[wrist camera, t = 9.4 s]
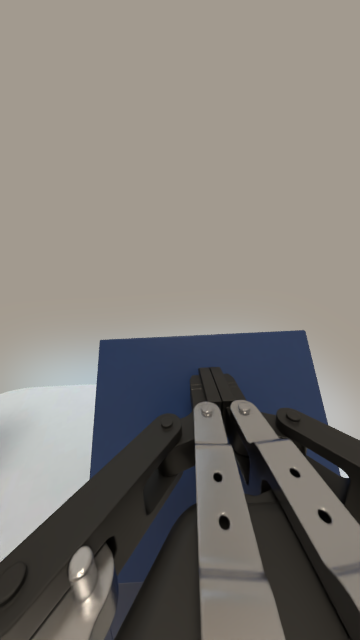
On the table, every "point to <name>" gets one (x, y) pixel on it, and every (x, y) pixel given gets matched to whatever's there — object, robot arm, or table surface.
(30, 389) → the table surface
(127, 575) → the lid
